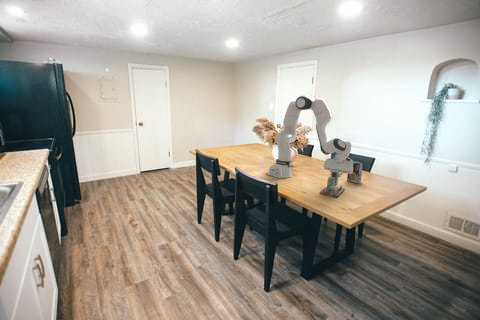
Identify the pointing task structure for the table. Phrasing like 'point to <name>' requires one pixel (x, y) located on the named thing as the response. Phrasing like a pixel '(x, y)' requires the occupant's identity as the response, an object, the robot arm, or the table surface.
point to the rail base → (332, 188)
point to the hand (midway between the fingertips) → (335, 175)
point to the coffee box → (356, 172)
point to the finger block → (335, 174)
